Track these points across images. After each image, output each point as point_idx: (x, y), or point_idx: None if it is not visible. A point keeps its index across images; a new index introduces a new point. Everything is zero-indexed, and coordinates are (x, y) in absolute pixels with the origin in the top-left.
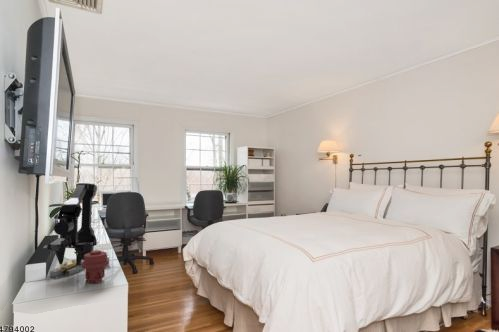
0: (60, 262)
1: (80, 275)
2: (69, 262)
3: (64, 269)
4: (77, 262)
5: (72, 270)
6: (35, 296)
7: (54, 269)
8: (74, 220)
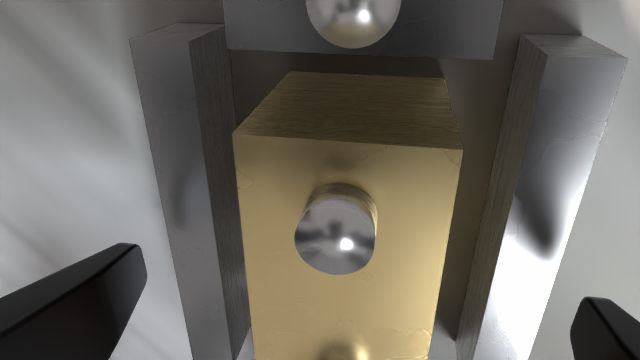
0: (602, 332)
1: (19, 70)
2: (379, 351)
3: (245, 48)
4: (49, 276)
5: (154, 120)
6: None
7: (583, 76)
8: None
